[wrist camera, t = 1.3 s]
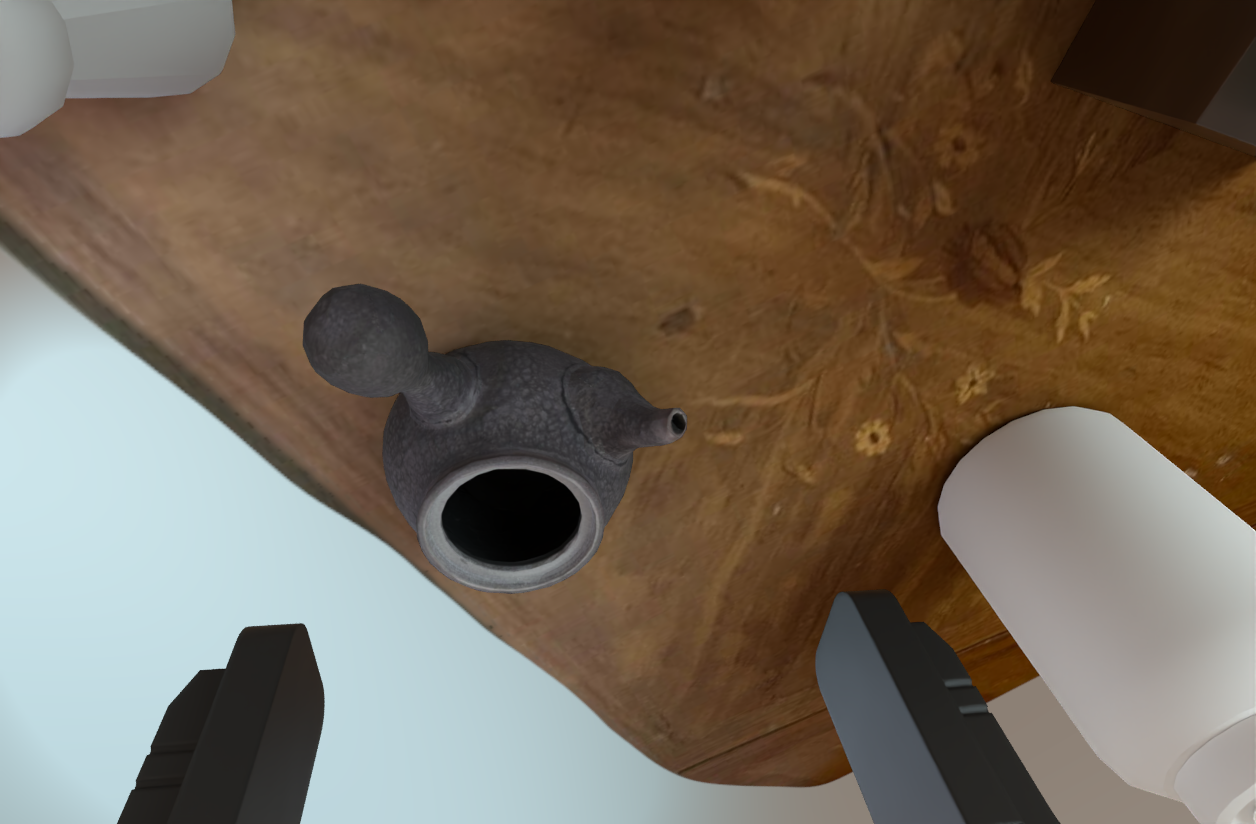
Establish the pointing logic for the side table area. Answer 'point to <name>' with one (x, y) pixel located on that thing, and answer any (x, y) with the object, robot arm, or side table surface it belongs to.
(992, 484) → the can
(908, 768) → the robot arm
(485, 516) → the teapot
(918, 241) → the side table surface
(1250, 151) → the block
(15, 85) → the salt shaker
